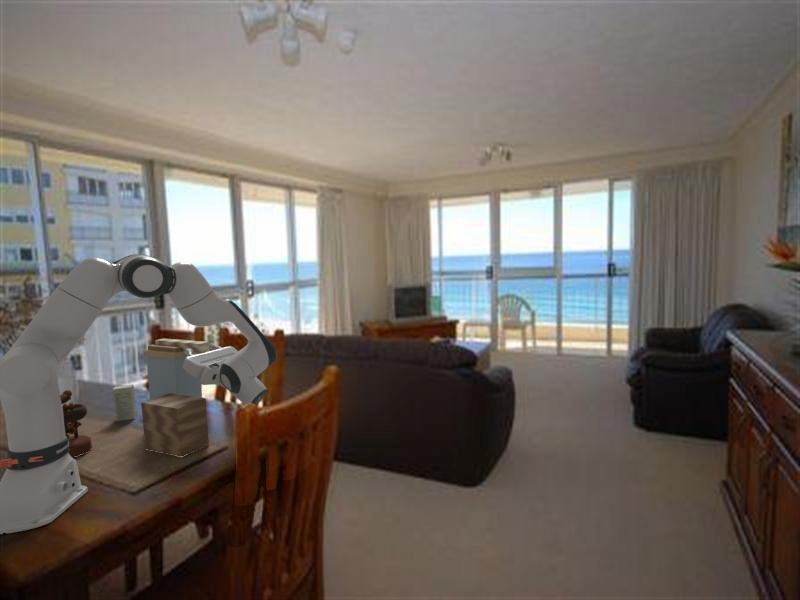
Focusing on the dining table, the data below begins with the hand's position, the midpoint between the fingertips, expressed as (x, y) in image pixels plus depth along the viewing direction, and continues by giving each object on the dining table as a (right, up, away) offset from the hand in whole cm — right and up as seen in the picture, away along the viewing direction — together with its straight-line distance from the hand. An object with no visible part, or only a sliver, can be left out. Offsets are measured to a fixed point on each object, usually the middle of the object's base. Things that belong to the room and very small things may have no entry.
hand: (198, 347), depth 157 cm
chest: (-11, -28, +8) cm, 31 cm away
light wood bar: (-7, -1, +4) cm, 8 cm away
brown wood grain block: (-1, -30, -13) cm, 32 cm away
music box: (-33, -31, -14) cm, 47 cm away
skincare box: (-33, -28, +15) cm, 46 cm away
